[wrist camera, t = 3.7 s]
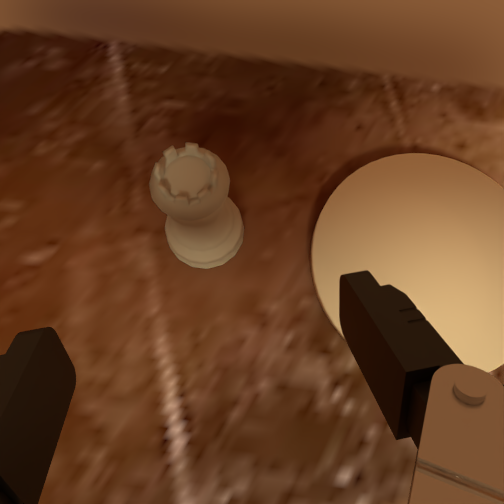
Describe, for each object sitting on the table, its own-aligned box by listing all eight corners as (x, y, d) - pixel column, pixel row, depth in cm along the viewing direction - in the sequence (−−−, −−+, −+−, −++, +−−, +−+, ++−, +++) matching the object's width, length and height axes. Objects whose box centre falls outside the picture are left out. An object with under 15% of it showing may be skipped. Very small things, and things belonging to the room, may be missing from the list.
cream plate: (340, 401, 20) (344, 404, 19) (289, 179, 23) (291, 172, 22) (567, 354, 21) (583, 355, 20) (488, 146, 24) (499, 137, 23)
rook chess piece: (184, 188, 23) (153, 106, 15) (254, 211, 22) (260, 139, 15) (156, 256, 22) (107, 205, 14) (229, 280, 21) (221, 243, 14)
